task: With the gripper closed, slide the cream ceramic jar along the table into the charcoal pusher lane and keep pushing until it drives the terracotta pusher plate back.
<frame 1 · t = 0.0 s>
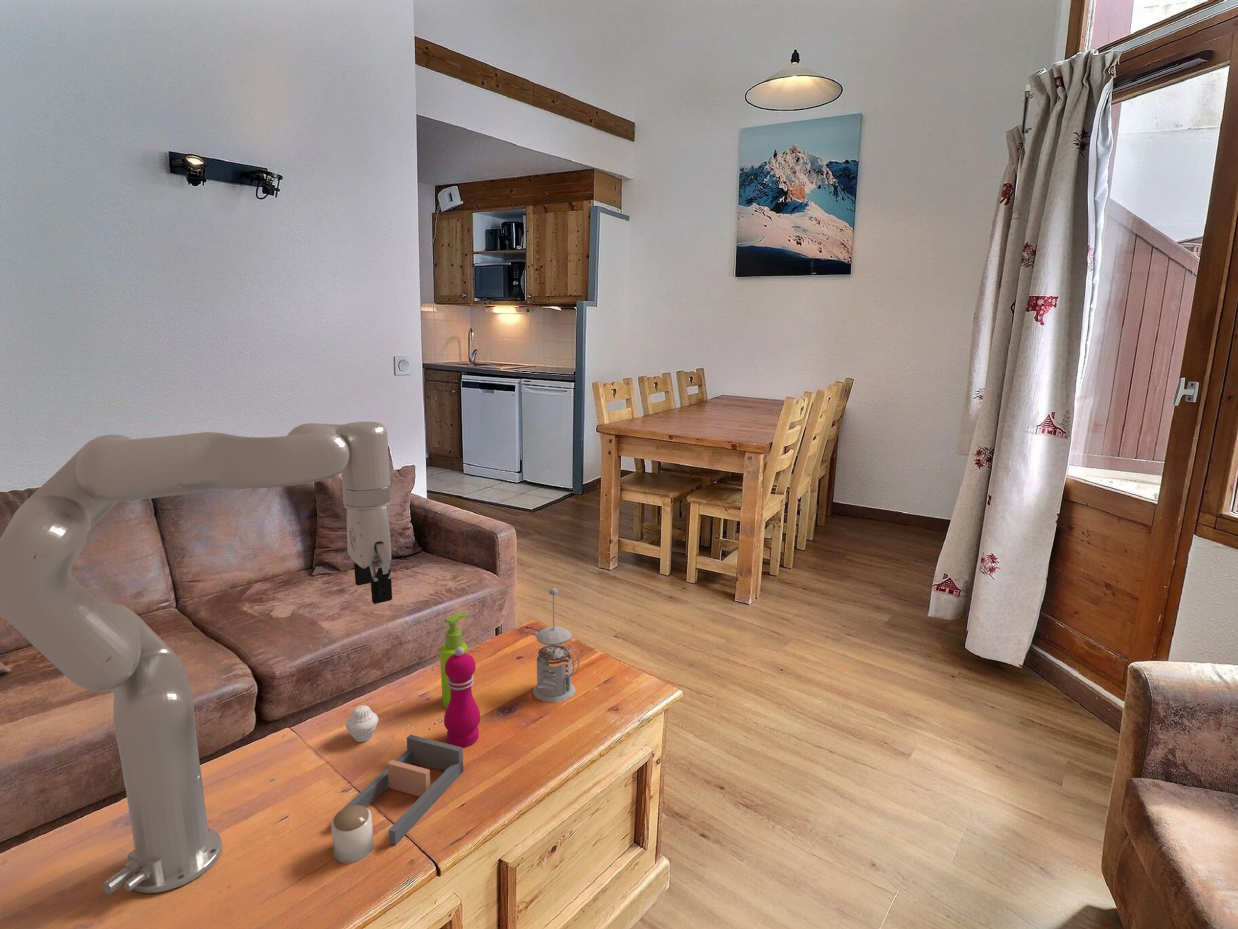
hand: (373, 592, 119), 37 cm above the table, tool pointing down, fingers open, 9 cm apart
french press: (557, 692, 158), on the table
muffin: (363, 738, 140), on the table
pusher: (409, 779, 124), point 3 cm above the table, slide at 0.0 cm
pepper mill: (463, 739, 140), on the table
soap dispenser: (457, 701, 154), on the table
jar: (353, 849, 111), on the table
lane: (404, 797, 123), on the table
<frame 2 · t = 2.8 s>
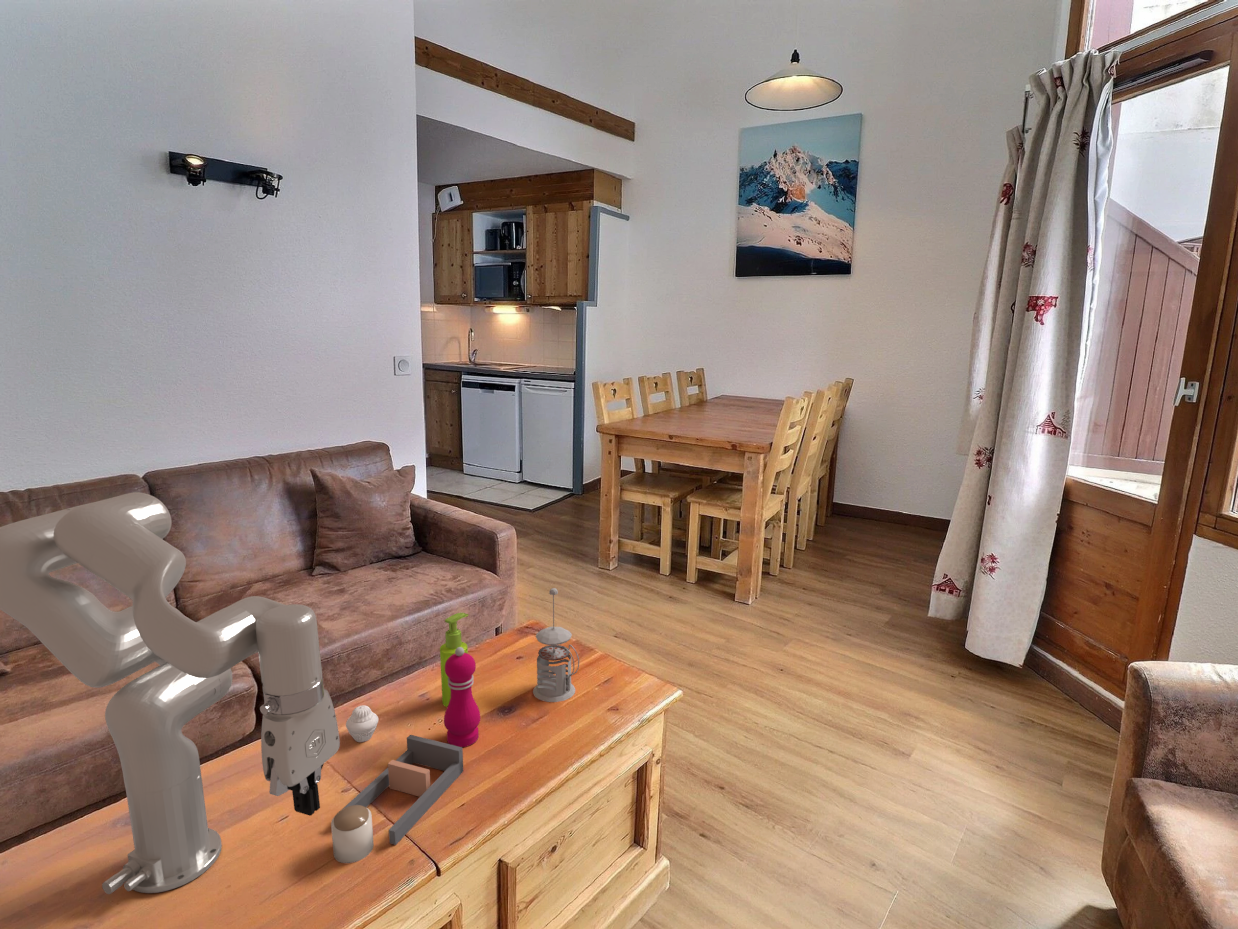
hand: (307, 810, 99), 14 cm above the table, tool pointing down, fingers closed
nothing on the table moved.
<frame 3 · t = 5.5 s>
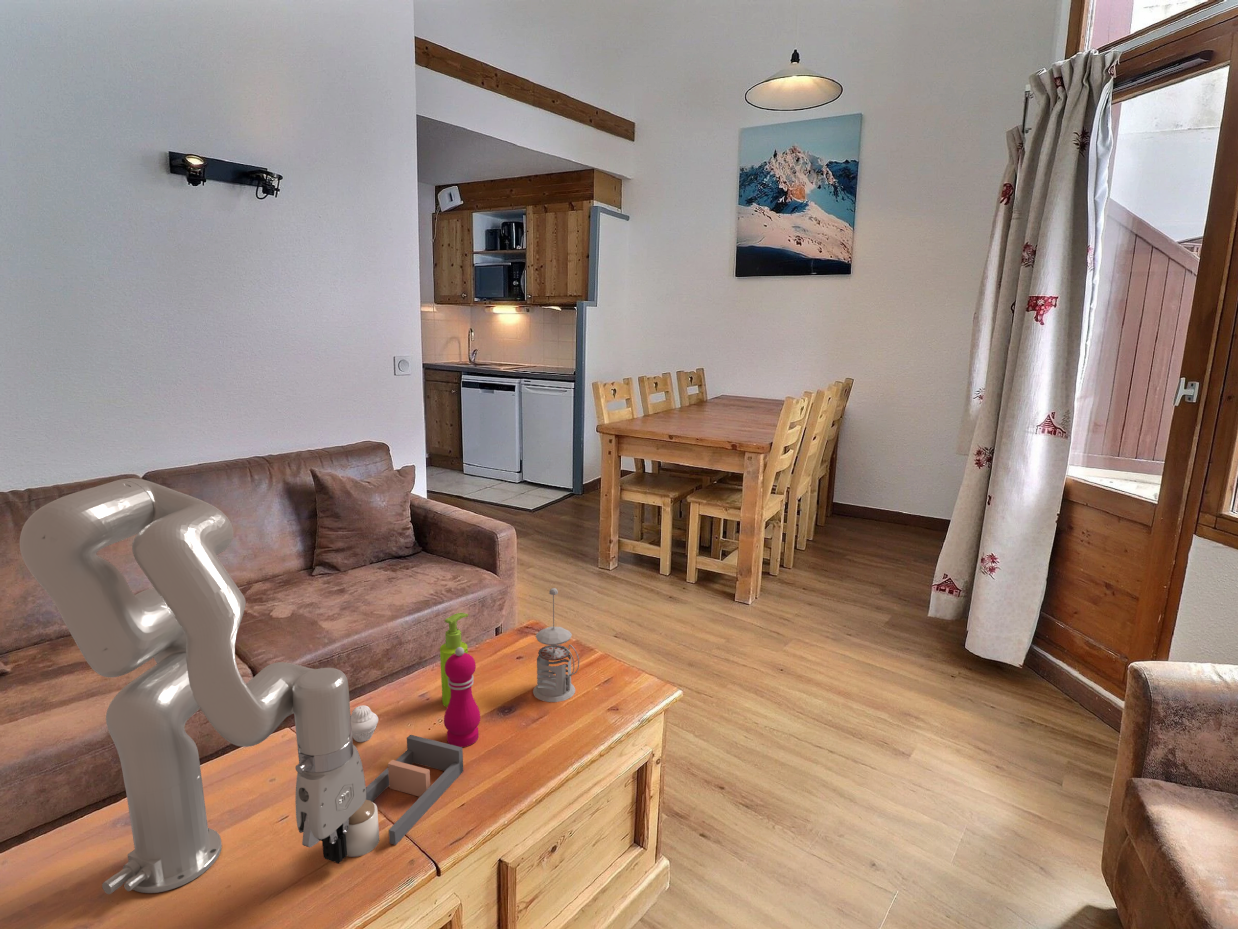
hand: (335, 857, 106), 2 cm above the table, tool pointing down, fingers closed
jar: (359, 842, 112), on the table, touching gripper
everything else where it was.
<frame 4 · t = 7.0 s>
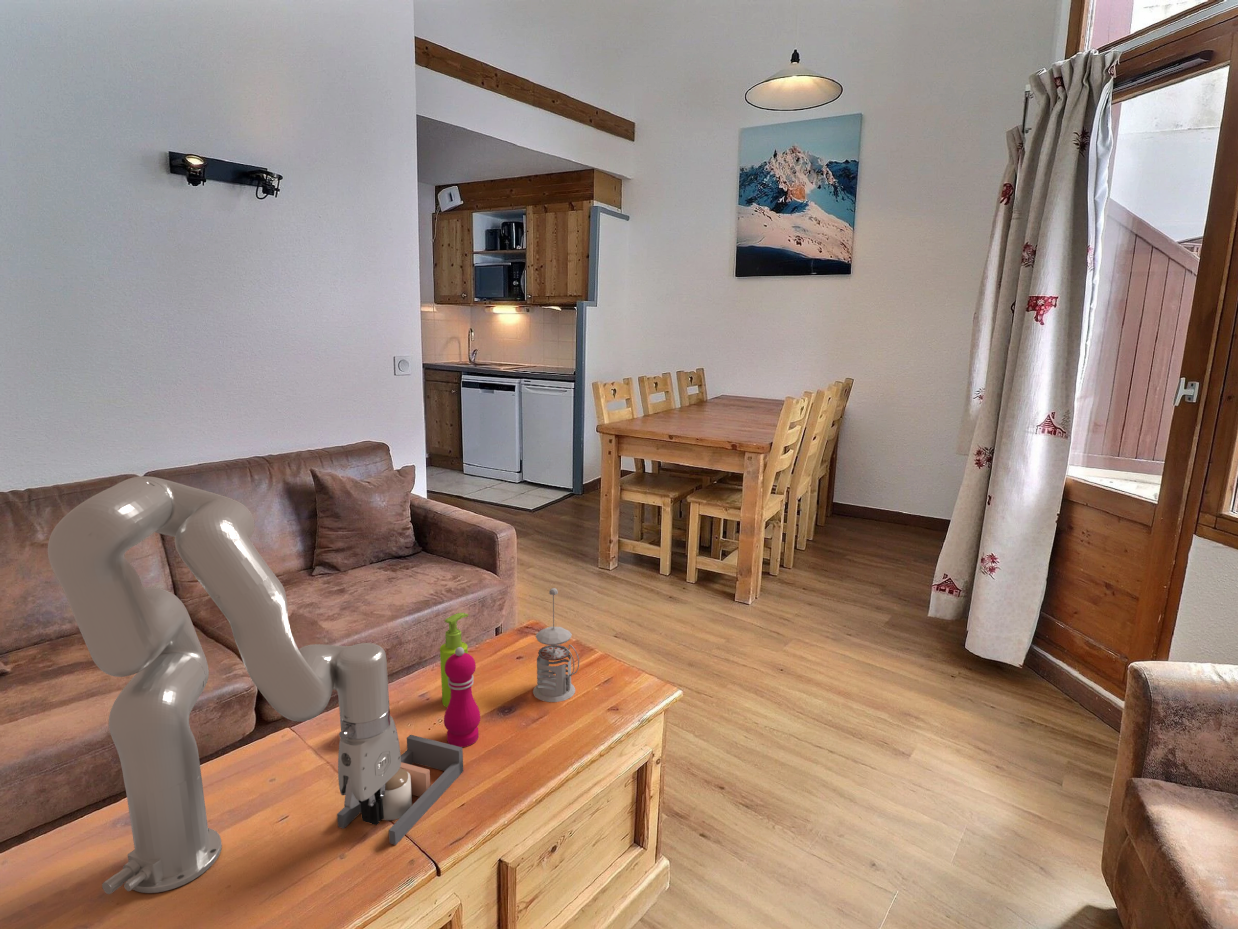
hand: (372, 820, 114), 2 cm above the table, tool pointing down, fingers closed
jar: (394, 808, 120), resting in lane, touching gripper
everything else where it was.
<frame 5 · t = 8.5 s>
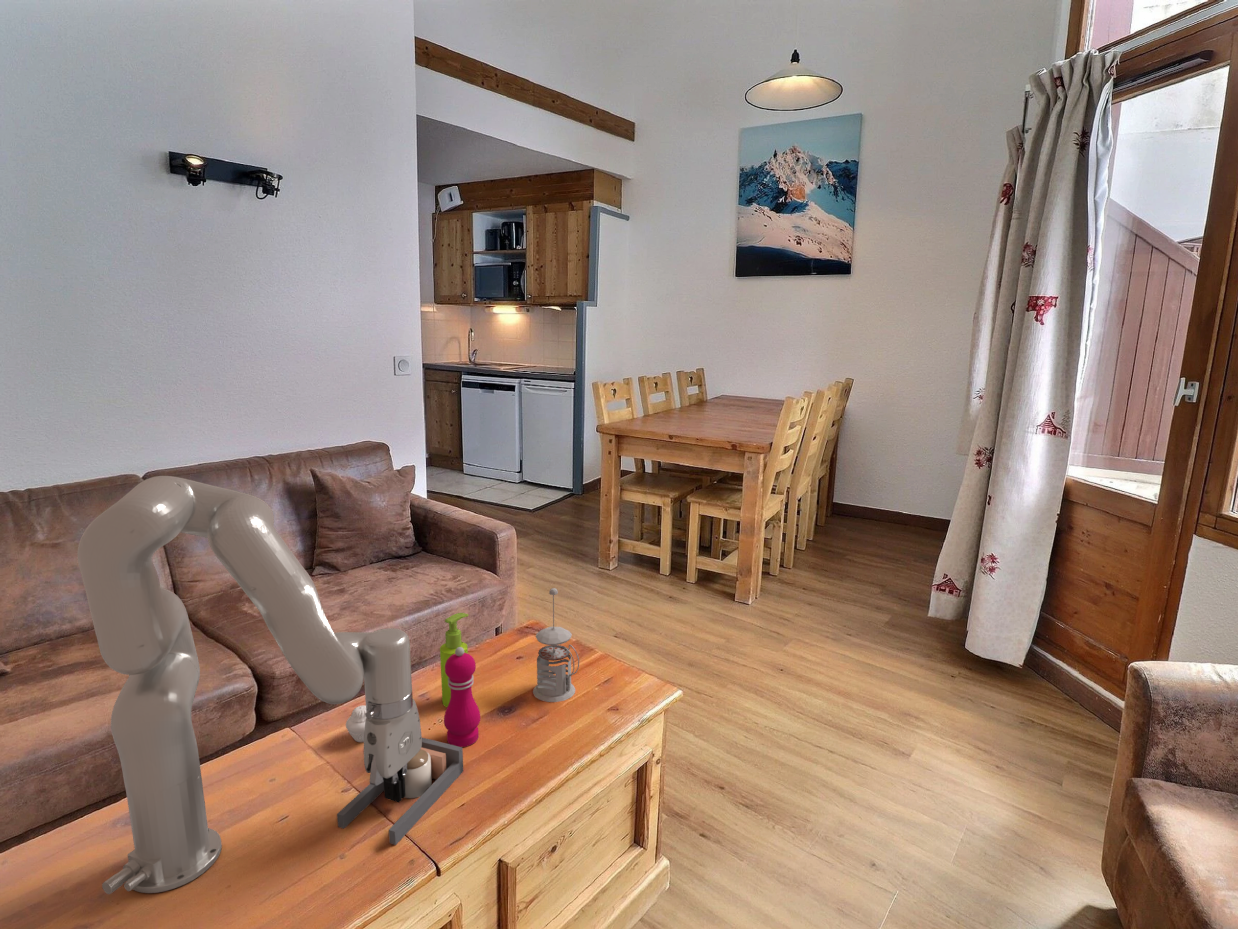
hand: (395, 797, 120), 2 cm above the table, tool pointing down, fingers closed
pusher: (426, 762, 128), point 3 cm above the table, slide at 5.0 cm, touching jar
jar: (414, 787, 125), resting in lane, touching gripper, pusher
everything else where it was.
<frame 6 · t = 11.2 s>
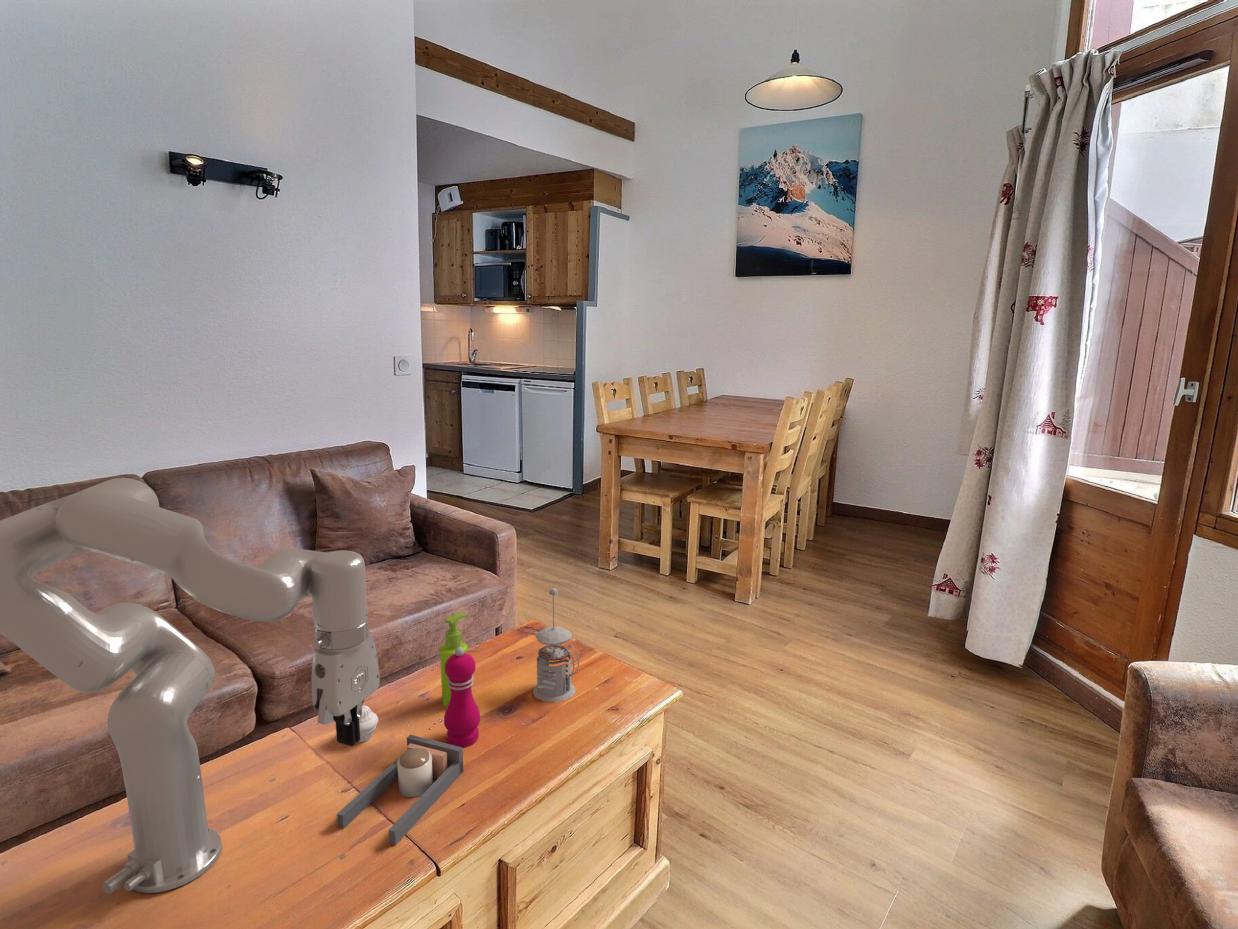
hand: (348, 741, 108), 19 cm above the table, tool pointing down, fingers closed
pusher: (427, 761, 128), point 3 cm above the table, slide at 5.4 cm
jar: (416, 786, 126), resting in lane
everything else where it was.
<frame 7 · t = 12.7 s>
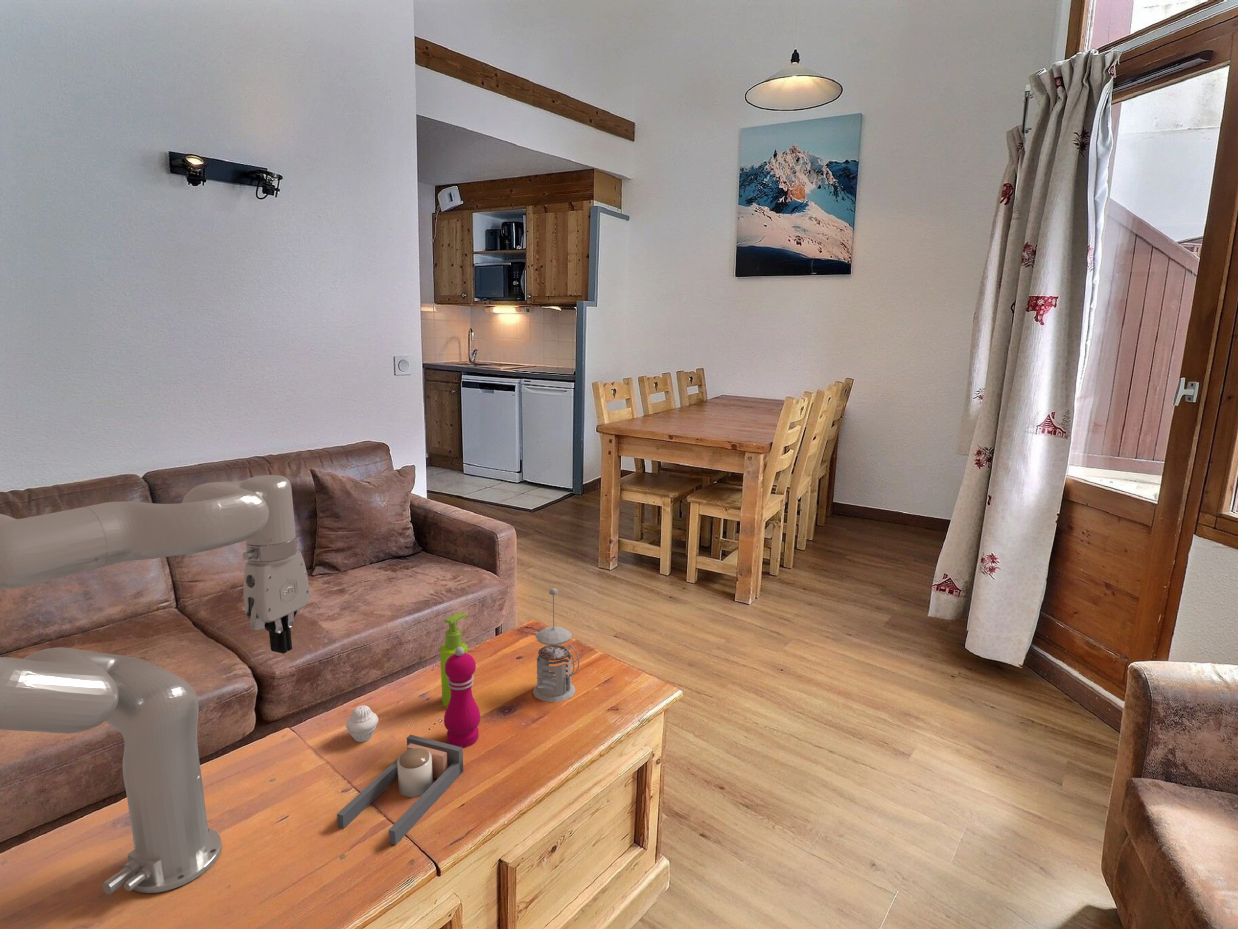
hand: (281, 650, 119), 27 cm above the table, tool pointing down, fingers closed
nothing on the table moved.
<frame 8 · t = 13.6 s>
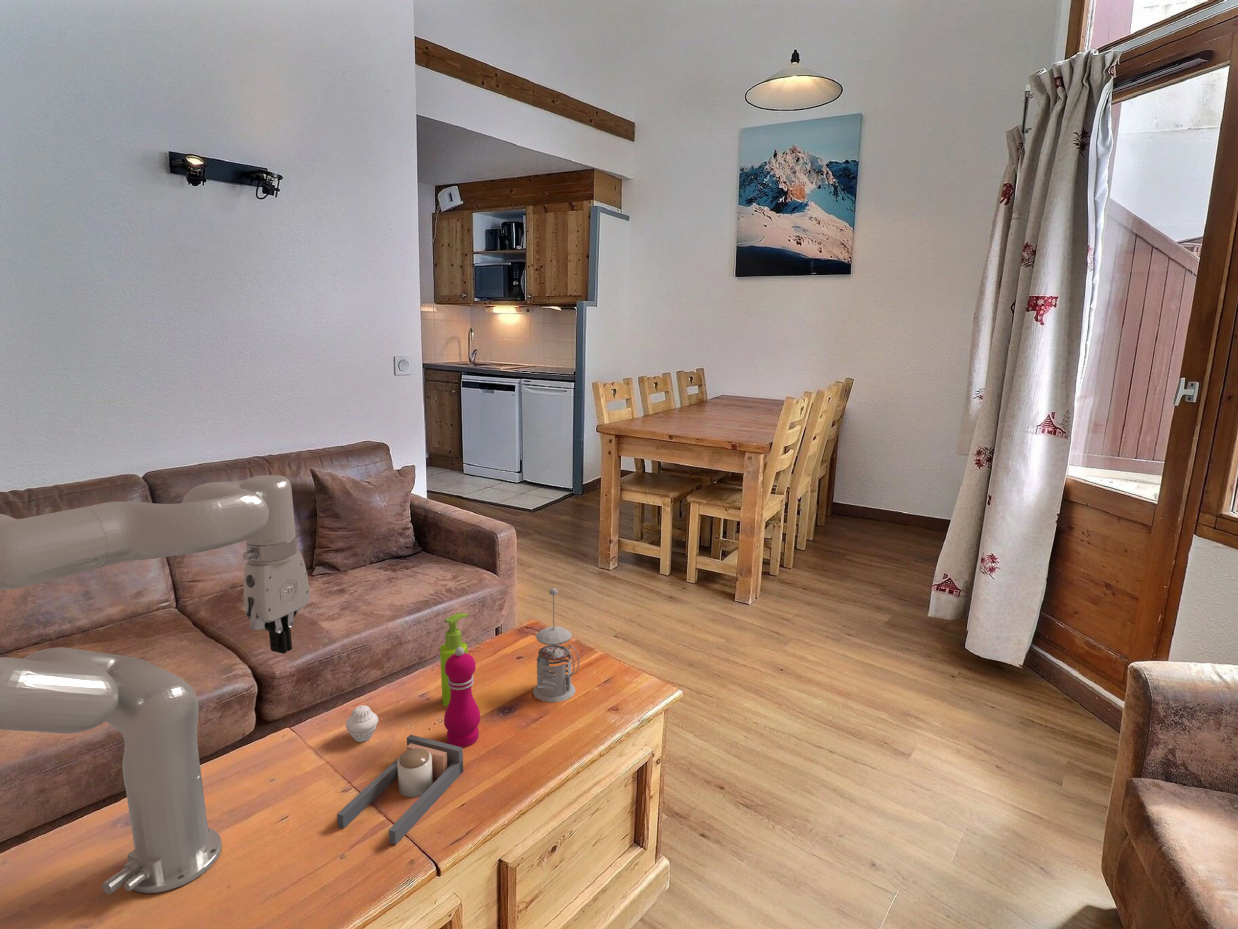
hand: (281, 650, 119), 27 cm above the table, tool pointing down, fingers closed
nothing on the table moved.
at the end: jar 0.8 cm from the target spot on the lane, point 0.0 cm above the lane's base; pusher slide at 5.4 cm; jar tilted 0° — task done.
